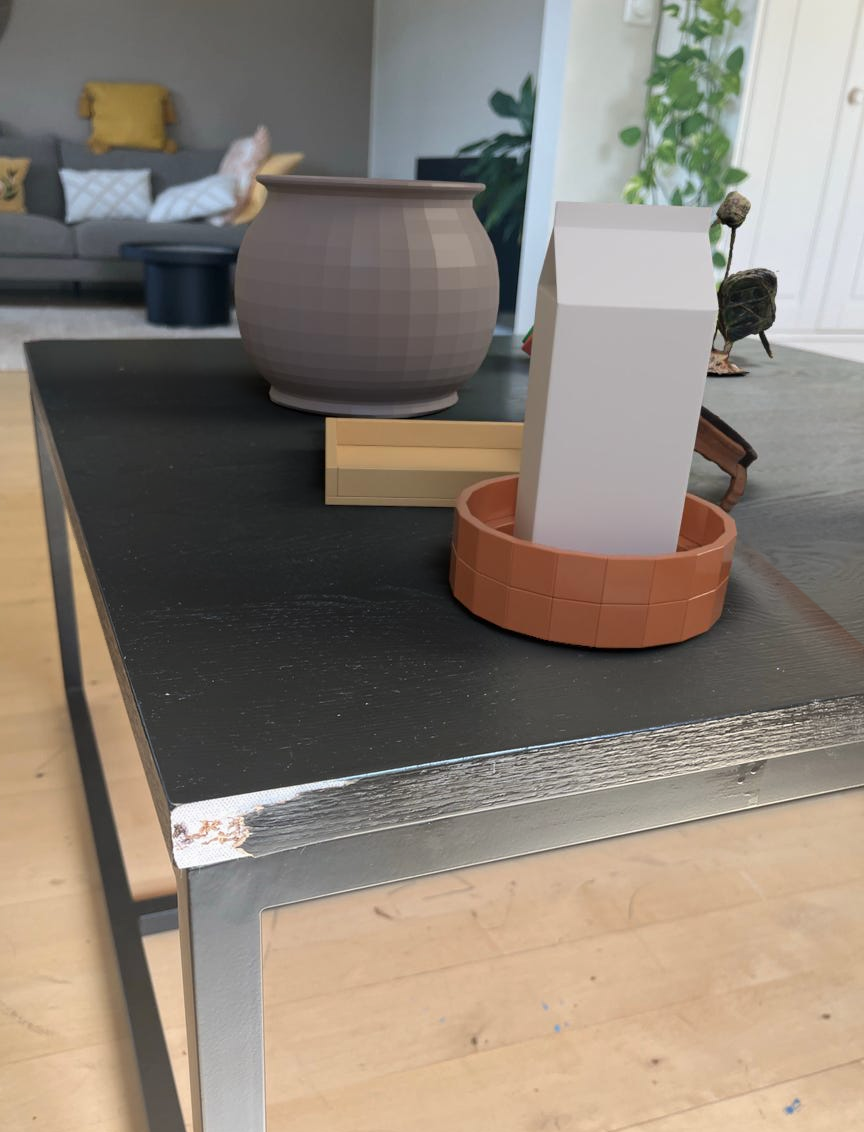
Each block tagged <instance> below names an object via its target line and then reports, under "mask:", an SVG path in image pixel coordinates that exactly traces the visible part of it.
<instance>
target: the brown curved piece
mask: <svg viewBox="0 0 864 1132" xmlns="http://www.w3.org/2000/svg"><path fill="white" fill-rule="evenodd" d="M693 452H695V453H697V454H699V455H700V456H701V457H702V458H703V459H705V460H706V461H708V462H712V463H714V464H715V465H717V467H718V468H719V469H720V470H721V471H722V472H724V473H726V474H728V475H729V476H730V481H729V486H728V489H727V490H726V493H725V494H724V496H723V498H722V499H721V500H720V503H719V507H720V508H721V509H722V510H723V511H725V512H726V513H727V514H728V513H729V512H731V511H732V510H733V507H734V506H736V504H738V502H739V499H740V497H742V496H744V495H745V489H746V485H747V480H748V468H749V467H750V466H751V465H752V464H753V462H755V461H757V460H758V457H759V456H758V453H757V452H756V450H755V449H754V448H753V446H752V445H751V444H750V443H749V442H748V441H747V440H746V439H745V438H744V437H742V435H741V434H740V433H738V431H736V430H735V429H734V428H733V427H732V426H730V425H729V424H728V423H727V422H725V420H724V419H722V418H721V417H720V416H718V415H716V413H714V412H712V411H711V410H710V409H708V408H707V407H705V406H704V405H703V404H702V405H701V410H700V416H699V422H698V428H697V433H696V439H695V445H694V450H693Z"/></svg>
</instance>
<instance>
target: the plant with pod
mask: <svg viewBox="0 0 864 1132" xmlns="http://www.w3.org/2000/svg"><path fill="white" fill-rule="evenodd" d="M751 207H752V204H751V202H750V200H749V199H748V198H747V197H746V196H743V195H742V194H741V193H739V192H738V191H737V190H733V191H729V192H728V193H727V194H726V195H725V199H724V200H723V202H722V203H721V204H720V205H719V207H718V209H717V211H716V213H715V216H716V219H715V220H713V223H712V224H710V228H711V229H714V228H716V227H717V225H722V226H727V227H728V228H730V239H729V240H730V241H729V252H728V258H727V264H726V270H725V272H724V277H723V280H722V281H720V285H719V287H718V290H717V291H716V292H717V300H718V308H719V310H718V313H717V319H716V324H715V330H714V336H713V342H712V347H711V353H710V359H709V365H708V370H707V373H714V374H716V373H717V374H718V375H723V374H726V375H733V374H742V375H743V374H744V375H749V374H751V373H750V371H745V370H743V368H741V367H740V366H739V365H736V363H735V362H734V361H729V358H730V353H731V351H732V348H733V346H734V343H736V342H738V341H740V340H743V339H745V338H747V337H749V336H752V335H753V336H758V337H759V340H760V342H761V344H762V347H763V349H764V350H765V352H766V354H767V355H768V358H770V359H773V358H774V354H773V353H774V352H773V350H772V348H771V347H770V346H771V345H770V343H769V340H768V337H767V336H766V335H767V334H765V331H767V330H769V329H770V328H771V327H773V324H774V323H775V321H776V318H777V315H776V312H777V305H776V297H777V293H778V288H779V287H778V277H777V275H776V273H777V272H779V270H776V273H775V271H773V270H770V269H768V268H765V267H755V268H754V267H753V268H750V269H746V270H739V271H737V272H736V273H731V274H730V273H729V272H730V270H731V266H732V261H733V253H734V252H733V250H734V244H735V241H736V236H737V233H736V232H737V229H738V228H740V227H741V226H742V225H743V224H744V222H745V221H746V219H747V215H748V214H749V212H750V210H751ZM718 333H720V335H721V336H722V338H723V341H724V346H723V350H721V349H718V348H715V340H716V338H717V334H718Z"/></svg>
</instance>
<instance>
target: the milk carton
mask: <svg viewBox="0 0 864 1132" xmlns="http://www.w3.org/2000/svg"><path fill="white" fill-rule="evenodd" d="M712 215H713V207H709V206H687V205H686V206H685V205H661V204H660V205H659V204H639V203H638V204H636V203H613V202H612V203H611V202H589V201H569V200H568V201H565V200H564V201H563V200H562V201H561V200H557V201H556V202H555V208H554V216H553V217H554V218H553V225H552V226H553V227H552V231H551V233H550V238H549V242H548V245H547V249H546V252H545V257H544V260H543V264H542V267H541V271H540V275H539V279H538V283H537V288H536V300H535V309H534V319H533V325H534V328H533V338H532V348H531V357H530V359H529V370H528V379H527V380H528V381H527V382H528V383H527V391H526V401H525V409H524V421H523V423H524V430H523V440H522V450H521V460H520V470H519V480H518V490H517V501H516V511H515V521H514V531H513V537H515V538H518V539H520V540H524V541H529V542H533V543H537V544H541V545H546V546H550V547H554V548H558V549H565V550H573V551H581V552H589V553H597V554H606V555H657V554H666V553H675V552H676V548H677V542H678V536H679V531H680V525H681V519H682V513H683V508H684V502H685V496H686V493H687V491H688V485H689V479H690V474H691V473H690V472H691V467H692V460H693V455H694V451H693V450H694V445H695V439H696V433H697V428H698V422H699V416H700V410H701V405H702V406H703V404H702V403H703V399H704V398H703V397H704V394H705V393H704V392H705V386H706V381H707V375H708V372H707V370H708V365H709V359H710V353H711V348H712V343H713V337H714V334H715V329H716V321H717V320H718V310H719V308H718V298H717V292H718V291H717V286H716V279H715V271H714V263H713V255H712V248H711V241H710V233H709V232H710V228H711V220H712Z"/></svg>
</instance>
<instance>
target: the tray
mask: <svg viewBox="0 0 864 1132" xmlns="http://www.w3.org/2000/svg"><path fill="white" fill-rule="evenodd" d="M523 430H524V422H510V421H473V420H471V421H470V420H469V421H468V420H432V419H398V418H385V419H374V418H352V417H325V443H324V445H325V447H324V450H325V451H324V456H325V457H324V462H325V464H324V466H325V467H324V468H325V469H324V484H325V486H324V488H325V489H324V492H325V493H324V500H325V502H324V504H325V505H326V506H327V505H328V506H369V507H370V506H371V507H373V506H375V507H378V506H379V507H380V506H381V507H425V508H426V507H428V508H454V506H455V501H456V499H457V498H458V496H459V495H460V493H461V492H462V491H463V490H464V489H466V488H468V487H470V486H472V485H474V484H476V483H479V482H481V481H483V480H488V479H493V478H497V477H502V476H507V475H515V474H519V470H520V460H521V450H522V440H523Z"/></svg>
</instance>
